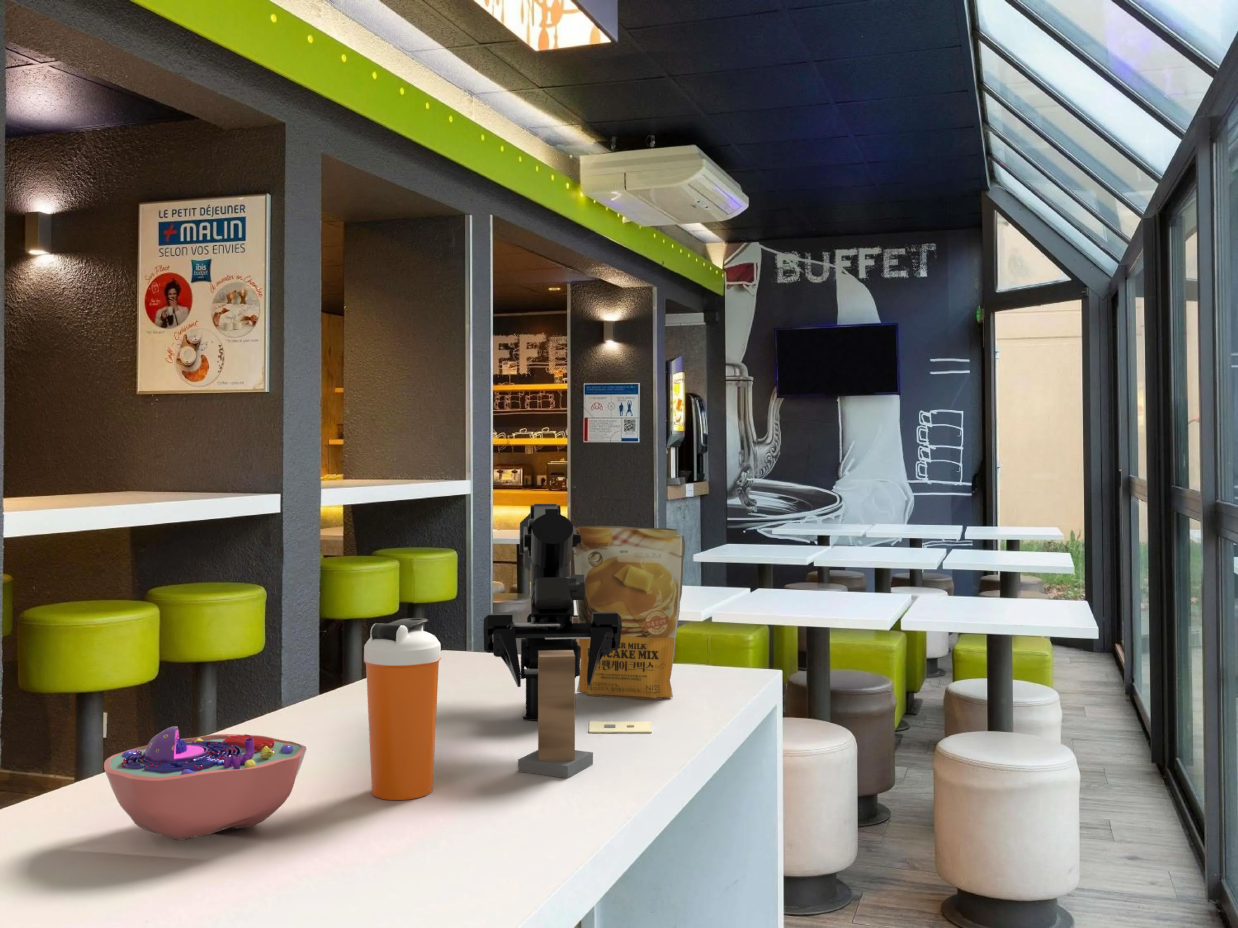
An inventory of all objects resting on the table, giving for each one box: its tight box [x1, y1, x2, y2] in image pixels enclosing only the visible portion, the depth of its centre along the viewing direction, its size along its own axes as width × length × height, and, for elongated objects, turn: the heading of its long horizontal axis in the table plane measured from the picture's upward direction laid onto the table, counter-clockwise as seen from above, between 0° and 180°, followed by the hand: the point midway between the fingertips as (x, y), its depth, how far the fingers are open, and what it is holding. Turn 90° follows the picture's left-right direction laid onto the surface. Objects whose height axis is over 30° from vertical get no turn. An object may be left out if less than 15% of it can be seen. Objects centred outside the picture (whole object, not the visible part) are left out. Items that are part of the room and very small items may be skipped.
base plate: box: [517, 749, 594, 779], centre depth 140 cm, size 7×7×2 cm
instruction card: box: [588, 721, 652, 734], centre depth 161 cm, size 9×6×1 cm, turn 90°
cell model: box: [103, 725, 307, 841], centre depth 116 cm, size 17×20×11 cm
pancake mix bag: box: [572, 525, 686, 701], centre depth 184 cm, size 7×19×28 cm, turn 74°
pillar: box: [537, 650, 576, 761], centre depth 140 cm, size 4×4×13 cm
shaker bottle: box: [363, 617, 442, 801], centre depth 130 cm, size 9×9×20 cm
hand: (554, 684), depth 146 cm, fingers open, 9 cm apart
